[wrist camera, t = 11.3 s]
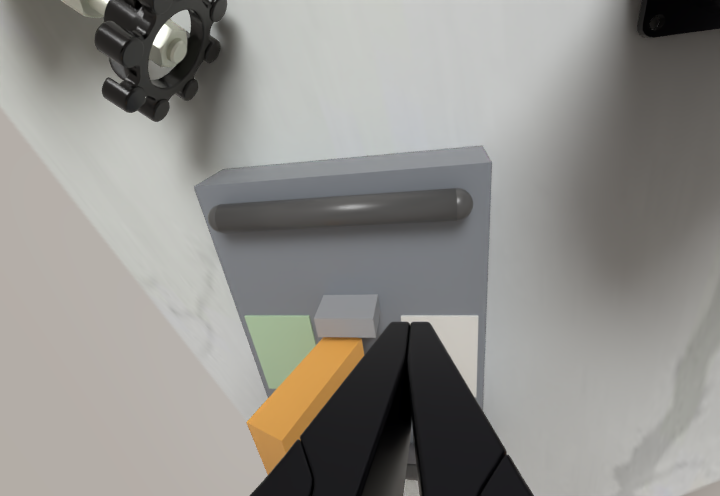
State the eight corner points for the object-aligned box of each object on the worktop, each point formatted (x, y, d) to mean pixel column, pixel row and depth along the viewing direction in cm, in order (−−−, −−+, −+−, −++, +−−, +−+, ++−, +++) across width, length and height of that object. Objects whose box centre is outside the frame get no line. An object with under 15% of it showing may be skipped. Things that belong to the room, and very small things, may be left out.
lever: (361, 338, 19) (281, 441, 14) (372, 403, 21) (306, 510, 17) (330, 329, 20) (246, 422, 15) (344, 392, 22) (274, 490, 18)
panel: (482, 145, 18) (500, 176, 13) (475, 436, 28) (484, 507, 23) (223, 169, 21) (168, 201, 16) (301, 425, 31) (281, 487, 26)
